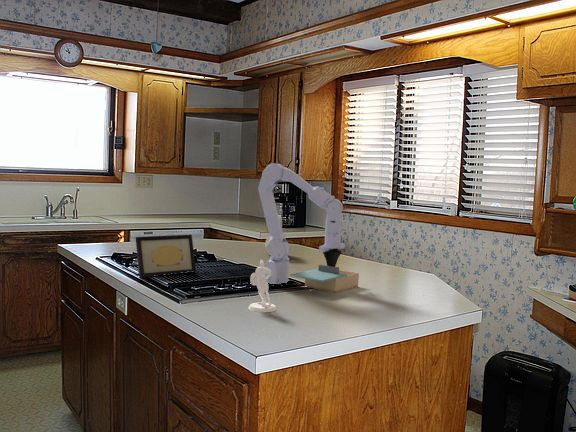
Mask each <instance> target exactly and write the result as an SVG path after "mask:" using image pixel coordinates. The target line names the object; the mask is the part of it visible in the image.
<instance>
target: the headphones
mask: <svg viewBox="0 0 576 432" xmlns="http://www.w3.org/2000/svg"><path fill="white" fill-rule="evenodd" d="M278 216H279V220H280V224H281V228H282V229H283V218H282V216H281V215H280V214H278ZM264 246H265V250H266V252H267V254H268V255H270V235H269V236H268V237H267V238H266V240H265V245H264ZM270 256H271V255H270Z"/></svg>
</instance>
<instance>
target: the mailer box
mask: <svg viewBox="0 0 576 432" xmlns="http://www.w3.org/2000/svg"><path fill="white" fill-rule="evenodd" d="M339 273H342V274H347V276H345V277H341V278H337V279H332V280H328V281H324V282H319V281H314V280H309V279H304V287H305V286H307V287H306V288H309V289H312V290H313V289H315V290H320V291H324V292H329V293H334V294H335V293H339V292H343V291H347V290H349V289H354V288H358V287H359V278H360V277H359V275H360V274H359V272H354V271H347V270H341V269H339Z"/></svg>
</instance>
